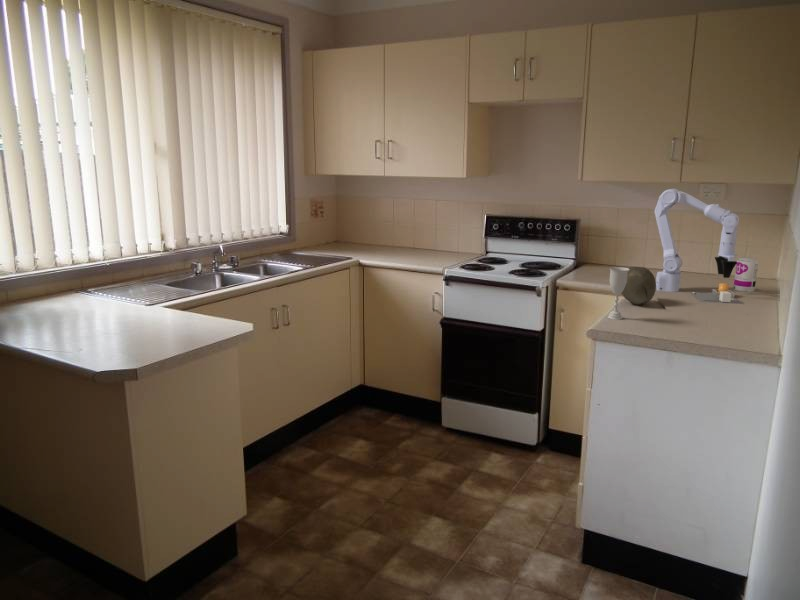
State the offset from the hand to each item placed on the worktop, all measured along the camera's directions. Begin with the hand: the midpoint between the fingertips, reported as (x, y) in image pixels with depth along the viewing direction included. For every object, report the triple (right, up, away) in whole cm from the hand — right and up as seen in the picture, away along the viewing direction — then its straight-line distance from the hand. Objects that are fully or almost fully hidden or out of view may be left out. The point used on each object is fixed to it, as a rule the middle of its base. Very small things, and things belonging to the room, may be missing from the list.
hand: (723, 275), depth 261 cm
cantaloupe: (-40, -12, -10) cm, 43 cm away
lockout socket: (0, -8, +1) cm, 8 cm away
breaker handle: (-4, -11, -9) cm, 14 cm away
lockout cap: (0, -8, +1) cm, 8 cm away
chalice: (-56, -17, -33) cm, 67 cm away
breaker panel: (-5, -10, -3) cm, 11 cm away
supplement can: (+16, -7, +14) cm, 22 cm away
